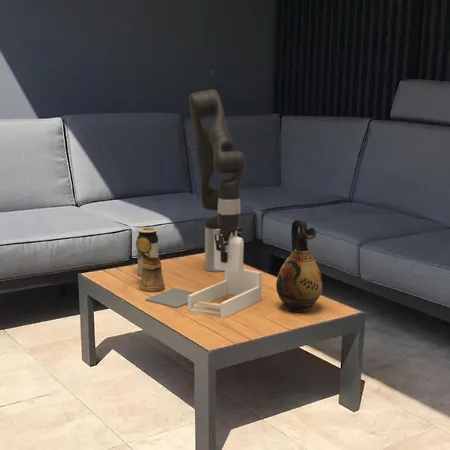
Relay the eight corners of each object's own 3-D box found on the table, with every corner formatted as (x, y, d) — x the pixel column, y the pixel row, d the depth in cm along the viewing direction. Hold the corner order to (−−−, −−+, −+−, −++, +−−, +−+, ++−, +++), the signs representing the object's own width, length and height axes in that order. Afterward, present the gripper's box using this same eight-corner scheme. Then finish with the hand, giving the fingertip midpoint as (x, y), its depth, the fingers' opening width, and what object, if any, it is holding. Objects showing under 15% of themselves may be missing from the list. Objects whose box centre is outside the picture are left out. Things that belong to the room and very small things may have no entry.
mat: (174, 289, 261) (174, 287, 260) (205, 296, 253) (205, 294, 253) (145, 300, 248) (145, 299, 248) (177, 308, 240) (177, 306, 240)
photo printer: (245, 270, 243) (245, 234, 240) (240, 273, 239) (241, 237, 236) (216, 266, 247) (217, 231, 244) (212, 270, 243) (212, 234, 240)
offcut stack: (196, 309, 240) (196, 301, 240) (226, 313, 237) (226, 304, 236) (190, 314, 236) (190, 305, 235) (221, 318, 232) (221, 309, 232)
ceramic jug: (330, 312, 238) (333, 223, 231) (288, 317, 232) (291, 227, 225) (305, 297, 253) (308, 213, 247) (265, 302, 247) (267, 217, 241)
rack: (226, 292, 257) (227, 265, 255) (261, 300, 249) (261, 272, 247) (188, 309, 239) (187, 280, 237) (223, 318, 231) (223, 288, 229)
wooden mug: (152, 280, 271) (151, 234, 267) (169, 289, 260) (168, 241, 256) (130, 284, 266) (129, 237, 262) (147, 293, 255) (146, 244, 251)
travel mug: (154, 270, 284) (154, 226, 280) (161, 276, 277) (160, 230, 273) (135, 272, 281) (134, 228, 277) (141, 278, 274) (140, 232, 270)
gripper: (231, 206, 246) (231, 254, 250) (207, 213, 234) (207, 263, 238) (250, 209, 242) (249, 257, 246) (226, 216, 230) (225, 267, 234)
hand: (228, 260), depth 242 cm, fingers closed on photo printer, 5 cm apart
